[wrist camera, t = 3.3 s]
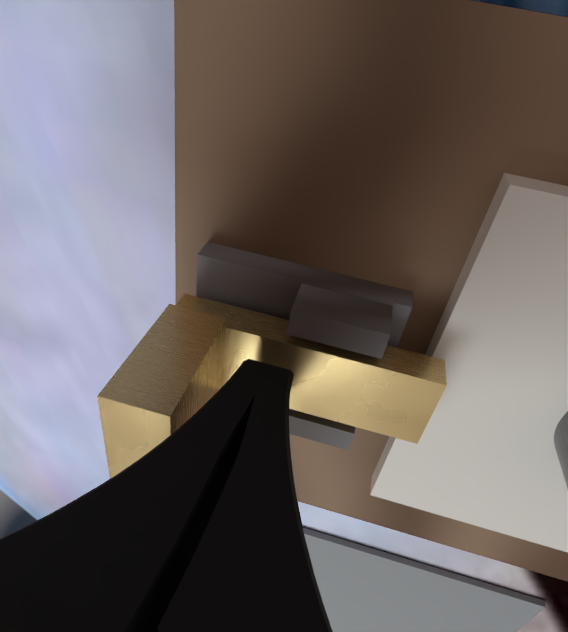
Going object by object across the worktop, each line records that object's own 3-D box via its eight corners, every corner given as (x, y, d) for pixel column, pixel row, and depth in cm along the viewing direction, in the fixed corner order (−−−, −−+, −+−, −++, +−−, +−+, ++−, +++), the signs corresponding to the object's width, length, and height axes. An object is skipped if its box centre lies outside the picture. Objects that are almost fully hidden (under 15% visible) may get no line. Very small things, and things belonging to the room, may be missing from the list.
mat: (543, 600, 22) (545, 607, 22) (442, 689, 30) (442, 694, 30) (260, 514, 23) (259, 520, 23) (238, 622, 32) (237, 627, 31)
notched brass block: (448, 351, 12) (462, 500, 9) (414, 424, 14) (413, 572, 11) (184, 285, 13) (97, 395, 10) (184, 361, 15) (110, 479, 11)
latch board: (1228, 132, 8) (1593, 197, 6) (638, 575, 19) (673, 667, 17) (196, -48, 10) (122, -60, 8) (187, 443, 21) (154, 507, 19)
